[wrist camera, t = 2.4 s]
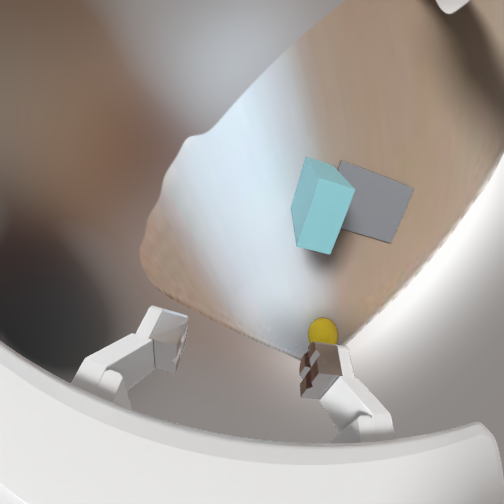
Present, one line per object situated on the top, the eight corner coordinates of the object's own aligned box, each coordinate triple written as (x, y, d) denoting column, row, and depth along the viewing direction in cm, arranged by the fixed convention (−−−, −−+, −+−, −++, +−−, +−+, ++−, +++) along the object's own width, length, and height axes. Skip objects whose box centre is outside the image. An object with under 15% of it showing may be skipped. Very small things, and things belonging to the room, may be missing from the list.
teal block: (290, 207, 40) (296, 246, 30) (305, 157, 36) (319, 178, 26) (315, 214, 40) (330, 254, 30) (332, 164, 36) (355, 189, 26)
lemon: (308, 309, 50) (312, 340, 43) (336, 309, 49) (343, 340, 42) (304, 329, 52) (307, 360, 46) (331, 329, 52) (337, 360, 45)
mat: (320, 221, 41) (320, 222, 40) (340, 160, 36) (341, 161, 35) (389, 241, 41) (390, 243, 41) (412, 188, 36) (413, 188, 36)
